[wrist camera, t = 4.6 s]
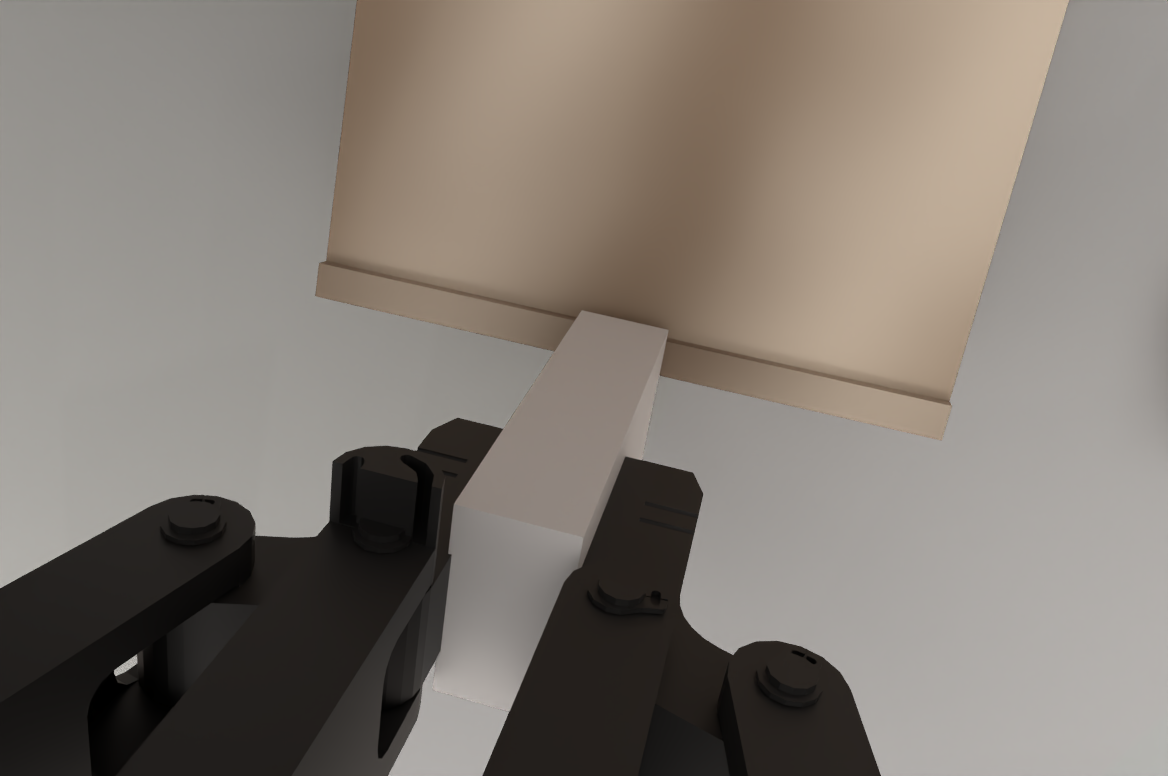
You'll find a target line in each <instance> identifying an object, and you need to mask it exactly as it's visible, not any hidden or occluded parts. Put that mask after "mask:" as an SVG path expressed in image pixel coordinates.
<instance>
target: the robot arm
mask: <svg viewBox="0 0 1168 776" xmlns="http://www.w3.org/2000/svg"><path fill="white" fill-rule="evenodd" d="M668 331H669V330H667V329H663V328H658V327H654V326H649V325H645V324H640V323H636V322H632V321H627V320H623V319H619V318H614V317H610V316H605V315H601V314H597V313H592V312H588V311H583V310H582V311H581V312H580V314H579V315H578V317H577V318H576V320H575V321H574V323H573V324H572V326H571V327H570V329H569V330H568V332H567V333H566V335H565V336H564V338H563V339H562V341H561V342H560V344H559V345H558V347H557V348H556V350H555V351H554V353H553V355H552V356H551V358H550V359H549V361H548V362H547V364H546V365H545V367H544V368H543V370H542V371H541V373H540V374H539V376H538V377H537V379H536V380H535V382H534V383H533V385H532V386H531V388H530V389H529V391H528V392H527V394H526V395H525V397H524V398H523V400H522V402H521V403H520V405H519V406H518V408H517V409H516V411H515V412H514V414H513V415H512V417H511V418H510V420H509V421H508V423H507V424H506V426H505V427H504V429H501V428H497V427H493V426H489V425H485V424H481V423H477V422H472V421H468V420H464V419H460V418H456V419H454V420H452V421H450V422H448V423H445V424H443V425H441V426H439V427H437V428H435V429H433V430H431V432H430V433H429V434H428V435H427V437H426V438H425V439H424V440H423V442H422V443H421V444H420V445H419V447H418V450H417V451H412V450H410V449H406V448H399V447H391V446H374V447H363V448H359V449H356V450H352V451H349V452H346V453H344V454H343V455H341V456H340V457H338V458H337V459H335V460H334V461H333V464H332V483H331V502H330V520H329V523H328V524H327V525H326V526H325V527H324V528H323V530H322V531H321V532H320V533H319V534H318V536H316V537H304V538H288V537H268V536H255V521H254V519H253V517H252V515H251V513H250V511H249V510H247V509H246V508H244V507H243V506H241V505H240V504H238V503H237V502H235V501H231V500H228V499H224V498H221V497H218V496H208V495H207V496H204V495H191V496H184V497H177V498H171V499H168V500H166V501H163V502H160V503H158V504H155V505H153V506H150V507H148V508H147V509H145V510H143V511H141V512H139V513H137V514H136V515H134V516H132V517H130V518H128V519H126V520H125V521H123V522H121V523H119V524H117V525H115V526H114V527H112V528H110V529H108V530H106V531H105V532H103V533H101V534H99V535H97V536H95V537H94V538H92V539H90V540H88V541H86V542H84V543H83V544H81V545H79V546H77V547H75V548H73V549H72V550H70V551H68V552H66V553H64V554H62V555H61V556H59V557H57V558H55V559H53V560H51V561H50V562H48V563H46V564H44V565H42V566H40V567H39V568H37V569H35V570H33V571H31V572H29V573H28V574H26V575H24V576H22V577H20V578H18V579H17V580H15V581H13V582H11V583H9V584H7V585H6V586H4V587H2V588H0V776H388V774H389V772H390V770H391V769H392V767H393V765H394V763H395V761H396V759H397V757H398V755H399V753H400V751H401V749H402V747H403V746H404V744H405V742H406V740H407V738H408V736H409V734H410V732H411V730H412V728H413V726H414V724H415V723H416V721H417V717H418V713H419V709H420V703H421V694H422V685H423V682H424V680H425V678H426V677H427V675H428V673H429V671H430V669H431V667H432V665H433V664H434V662H435V660H436V664H435V673H434V681H433V690H434V691H437V692H441V693H444V694H448V695H452V696H455V697H459V698H462V699H466V700H469V701H473V702H476V703H480V704H484V705H487V706H490V707H494V708H497V709H501V710H504V711H508V712H509V714H508V716H507V719H506V721H505V724H504V726H503V728H502V731H501V733H500V735H499V738H498V740H497V743H496V745H495V747H494V750H493V752H492V754H491V757H490V759H489V762H488V764H487V766H486V769H485V771H484V773H483V776H881V775H880V772H879V769H878V766H877V763H876V761H875V758H874V755H873V752H872V749H871V746H870V744H869V741H868V738H867V735H866V732H865V729H864V727H863V724H862V721H861V718H860V715H859V712H858V709H857V707H856V704H855V701H854V698H853V695H852V692H851V690H850V688H849V686H848V684H847V683H846V681H845V680H844V678H843V676H842V675H841V673H840V672H839V671H838V670H837V669H836V668H835V667H833V666H832V665H831V664H830V663H829V662H828V661H826V660H825V659H824V658H823V657H821V656H819V655H817V654H815V653H813V652H811V651H809V650H807V649H805V648H803V647H801V646H796V645H792V644H788V643H784V642H780V641H760V642H754V643H751V644H749V645H746V646H743V647H741V648H739V649H738V650H737V651H736V652H735V654H734V655H732V654H730V653H728V652H726V651H724V650H722V649H720V648H718V647H717V646H715V645H713V644H712V643H710V642H709V641H707V640H705V639H704V638H703V637H702V636H700V635H699V634H698V633H697V632H696V631H695V630H694V629H693V628H692V627H691V626H690V624H689V623H688V622H687V620H686V619H685V617H684V616H683V613H682V610H681V607H680V592H681V588H682V584H683V579H684V575H685V571H686V566H687V562H688V558H689V554H690V549H691V545H692V541H693V536H694V532H695V528H696V523H697V519H698V515H699V510H700V506H701V502H702V497H703V492H702V490H701V488H700V486H699V484H698V482H697V480H696V478H695V476H694V474H693V473H692V472H688V471H684V470H680V469H676V468H671V467H667V466H663V465H659V464H655V463H651V462H647V461H643V460H642V458H643V454H644V449H645V444H646V439H647V434H648V429H649V424H650V419H651V414H652V409H653V404H654V399H655V395H656V390H657V385H658V380H659V375H660V370H661V365H662V360H663V355H664V350H665V345H666V340H667V336H668ZM136 654H137V663H138V664H136V665H135V666H134V667H132V668H131V669H129V670H128V671H126V672H125V673H122V674H120V675H118V676H115V675H114V670H115V669H116V668H118V667H119V666H120V665H122V664H123V663H125V662H126V661H128V660H129V659H131V658H132V657H134V656H135V655H136Z"/></svg>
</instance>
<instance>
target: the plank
mask: <svg viewBox="0 0 1168 776" xmlns="http://www.w3.org/2000/svg"><path fill="white" fill-rule="evenodd" d="M1068 2H1069V0H357V4H356V13H355V21H354V30H353V38H352V47H351V55H350V64H349V72H348V81H347V89H346V98H345V106H344V115H343V123H342V132H341V140H340V149H339V157H338V166H337V174H336V183H335V191H334V200H333V208H332V217H331V225H330V234H329V242H328V251H327V259H326V261H324V262H321V263H319V268H318V277H317V286H316V294H315V296H317V297H321V298H326V299H330V300H334V301H339V302H343V303H347V304H352V305H356V306H360V307H365V308H369V309H373V310H378V311H382V312H386V313H391V314H395V315H399V316H404V317H408V318H412V319H417V320H421V321H426V322H430V323H434V324H439V325H443V326H447V327H452V328H456V329H460V330H465V331H469V332H473V333H478V334H482V335H486V336H491V337H495V338H499V339H504V340H508V341H512V342H517V343H521V344H525V345H530V346H534V347H538V348H543V349H547V350H551V351H555V350H556V348H557V347H558V345H559V344H560V342H561V341H562V339H563V338H564V336H565V335H566V333H567V332H568V330H569V329H570V327H571V326H572V324H573V323H574V321H575V320H576V318H577V317H578V315H579V314H580V312H581V311H582V310H583V311H588V312H592V313H597V314H601V315H605V316H610V317H614V318H619V319H623V320H627V321H632V322H636V323H640V324H645V325H649V326H654V327H658V328H663V329H667V330H669V331H668V336H667V340H666V345H665V350H664V355H663V360H662V365H661V370H660V376H664V377H668V378H673V379H677V380H681V381H686V382H690V383H694V384H699V385H703V386H707V387H712V388H716V389H720V390H725V391H729V392H734V393H738V394H742V395H747V396H751V397H755V398H760V399H764V400H768V401H773V402H777V403H781V404H786V405H790V406H794V407H799V408H803V409H807V410H812V411H816V412H820V413H825V414H829V415H833V416H838V417H842V418H846V419H851V420H855V421H859V422H864V423H868V424H872V425H877V426H881V427H885V428H890V429H894V430H898V431H903V432H907V433H911V434H916V435H920V436H924V437H929V438H933V439H937V440H942V438H943V434H944V431H945V428H946V424H947V421H948V418H949V414H950V411H951V408H952V405H951V404H950V402H949V400H950V397H951V394H952V390H953V387H954V384H955V380H956V377H957V374H958V370H959V367H960V364H961V360H962V357H963V354H964V350H965V347H966V344H967V340H968V337H969V334H970V330H971V327H972V323H973V320H974V317H975V313H976V310H977V307H978V303H979V300H980V297H981V293H982V290H983V287H984V283H985V280H986V277H987V273H988V270H989V267H990V263H991V260H992V257H993V253H994V250H995V246H996V243H997V240H998V236H999V233H1000V230H1001V226H1002V223H1003V220H1004V216H1005V213H1006V210H1007V206H1008V203H1009V200H1010V196H1011V193H1012V190H1013V186H1014V183H1015V180H1016V176H1017V173H1018V170H1019V166H1020V163H1021V159H1022V156H1023V153H1024V149H1025V146H1026V143H1027V139H1028V136H1029V133H1030V129H1031V126H1032V123H1033V119H1034V116H1035V113H1036V109H1037V106H1038V103H1039V99H1040V96H1041V93H1042V89H1043V86H1044V83H1045V79H1046V76H1047V72H1048V69H1049V66H1050V62H1051V59H1052V56H1053V52H1054V49H1055V46H1056V42H1057V39H1058V36H1059V32H1060V29H1061V26H1062V22H1063V19H1064V16H1065V12H1066V9H1067V6H1068Z"/></svg>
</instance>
